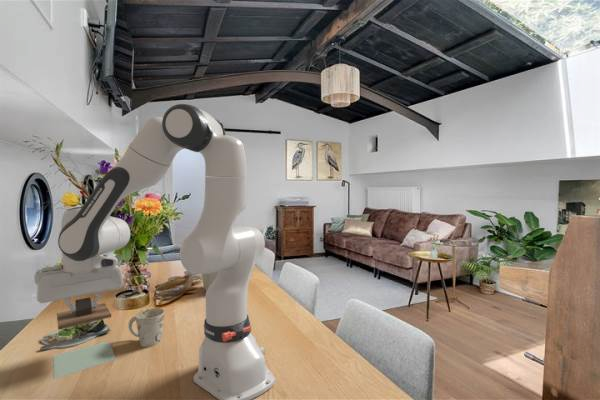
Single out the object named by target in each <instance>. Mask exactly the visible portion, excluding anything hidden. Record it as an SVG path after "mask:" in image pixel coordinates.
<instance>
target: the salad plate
mask: <svg viewBox="0 0 600 400" xmlns="http://www.w3.org/2000/svg"><path fill="white" fill-rule="evenodd" d="M109 332H111V329H110V327H109V325H108V324H105V321H104V319H102V320H97V321H93V322H89V323H85V324H81V325H76V326H72V327H68V328H64V329H60V330H55V331H53V332H50V333H47V334H45V335H44V336H42V338H41V340H40V343H42V345H43V346H41V347H40V348H39V349H40V350H41V351H42V350H44V351H45V350H51V349H52V350H53V349H64V348H65V349H66V348H71V347H77V346H79V345H82V344H85V343H86V342H89V341H91V340H93V339H96V338H98V337H101V336H104V335H105V334H107V333H109ZM51 339H52V340H53V339H56V340H55V342H51V341H50V340H51Z"/></svg>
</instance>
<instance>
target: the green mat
mask: <svg viewBox="0 0 600 400" xmlns="http://www.w3.org/2000/svg"><path fill="white" fill-rule="evenodd" d="M109 341H110V340H107V341H104V342H100V343H96V344H92V345H89V346H86V347H81V348H78V349H75V350H70V351H67V352H63V353H60V354H56V355H52V358H53V359H52V360H53V361H52V362H53V377H54V379H58V378H62V377H65V376H68V375H71V374H75V373H78V372H80V371H84V370H88V369H90V368H93V367H97V366H101V365H103V364H107V363H109V362H114V361H116V360H117V357H116V355H115V353H114V351H113V348H112V346H111V343H110V342H109Z"/></svg>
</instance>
